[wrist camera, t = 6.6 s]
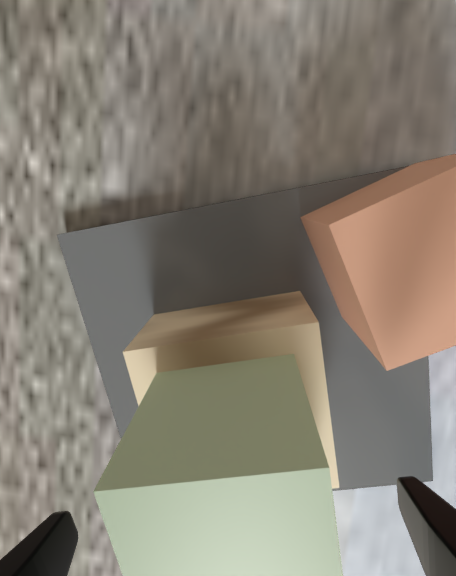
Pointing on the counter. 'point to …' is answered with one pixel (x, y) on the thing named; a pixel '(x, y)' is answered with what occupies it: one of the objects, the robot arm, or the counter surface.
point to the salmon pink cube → (394, 260)
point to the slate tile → (247, 285)
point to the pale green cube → (222, 477)
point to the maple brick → (237, 347)
